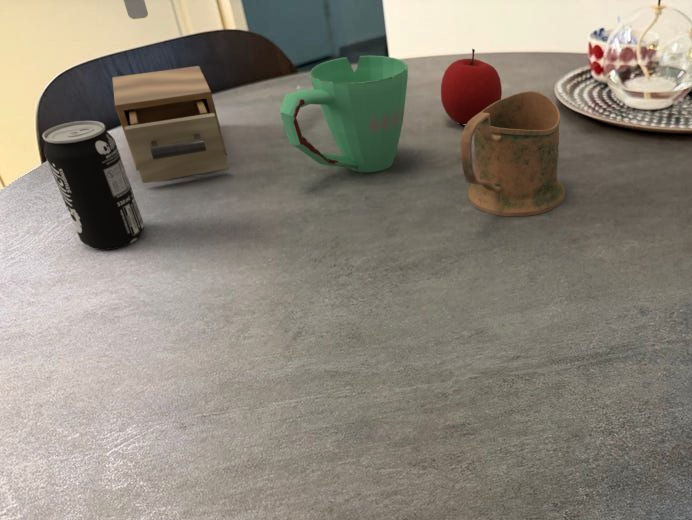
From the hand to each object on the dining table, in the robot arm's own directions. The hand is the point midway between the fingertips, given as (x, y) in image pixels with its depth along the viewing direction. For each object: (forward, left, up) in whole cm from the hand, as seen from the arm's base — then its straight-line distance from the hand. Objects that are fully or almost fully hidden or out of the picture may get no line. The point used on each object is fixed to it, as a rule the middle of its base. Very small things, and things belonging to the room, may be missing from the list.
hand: (138, 15), depth 69 cm
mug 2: (+33, -14, -21) cm, 42 cm away
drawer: (0, +14, -20) cm, 24 cm away
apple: (+41, +14, -21) cm, 48 cm away
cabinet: (0, +24, -21) cm, 32 cm away
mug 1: (+20, +4, -21) cm, 29 cm away
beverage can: (-9, -2, -21) cm, 23 cm away
